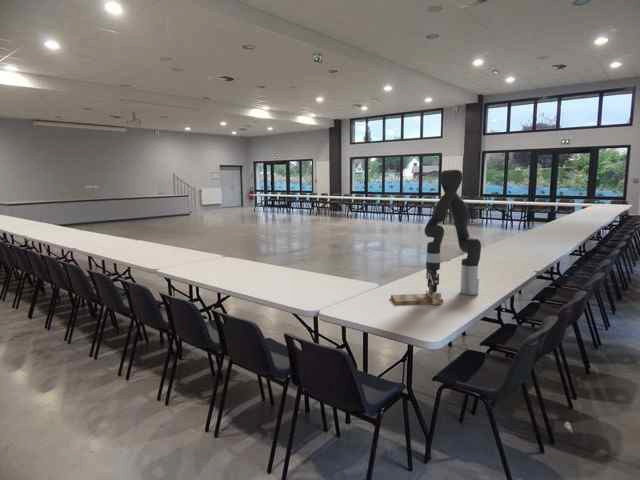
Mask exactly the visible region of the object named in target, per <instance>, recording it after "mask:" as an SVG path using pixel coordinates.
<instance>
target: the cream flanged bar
mask: <svg viewBox="0 0 640 480" xmlns="http://www.w3.org/2000/svg"><path fill="white" fill-rule="evenodd" d="M432 290H433V283H429V287H428V289H426V290H425V294H428V295H429V296H430V297H431V298H432V299H433V302H432V303H433V304H432V305H442V303H441V298H442V293H441V292H437V291H436V292H433V291H432Z"/></svg>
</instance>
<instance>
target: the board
mask: <svg viewBox="0 0 640 480" xmlns="http://www.w3.org/2000/svg"><path fill="white" fill-rule="evenodd" d="M390 299H391V300H392V302H393V303H394V305H396V306H399V305H405V306H406V305H428V304H429V305H430V304H431V305H434V304H433V303H432V302H433V299H432V298H431V297H430V296H429V295H428V294H426V293H418V294H417V293H411V294H410V293H409V294H407V293H406V294H405V293H404V294H391V295H390ZM441 304H444V299H443V298H442V297H441Z"/></svg>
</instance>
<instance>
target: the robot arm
mask: <svg viewBox="0 0 640 480" xmlns="http://www.w3.org/2000/svg"><path fill="white" fill-rule="evenodd" d="M463 177H464V176H463V172H462V171H461V170H459V169H456V168H455V169H447V170H446V169H445V170H442V171H441V172H440V175H439V181H440V185H441V187H442V189H443V191H444V194H443V195H442V196H441V198H440V199H439V200H438V201H437V203H436V205H435V207H434V209H433V213H432V216H431V217H430V219H429V221H428V222H427V224H426V225H425V227H424V235H425V236H426V237H428V238H431V239H433V240H432V241H428V243H427V244H426V257H425V259H426V260H425V269H426V274H425V275H426V279H425V280H427V288H429V283H433V290H432V291H433V292H436V293H437V292H438V286H439V285H440V273H438V271H439V270H440V269H441V244H442V243H443V238H444V235H445V229H444V227H443V225H438V224H439V223H444V222H445V220H446V218H447V214H448V212H449V210H450V213H451V217H452V221H453V223H454V224H453V225H454V227H455V231H456V237H457V242H458V245H459V246H458V247H459V249H460V250H461V252H463V253H466V257H465V258H463V259H461V269H460V294H462V295H467V296H474V295H475V296H476V295H479V289H480V288H479V286H480V284H479V283H480V278H479V263H480V260H481V250H482V244H481V241H480V240H479V239H478V238H475V237H471V236H470V234H469V229H468V225H469V222H470V213H469V207H468V205H467V203H466V202H465V201H464V199H462V197H461V196H460V195H459V194H458V190H459V188H460V186H461V184H462V181H463Z"/></svg>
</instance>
